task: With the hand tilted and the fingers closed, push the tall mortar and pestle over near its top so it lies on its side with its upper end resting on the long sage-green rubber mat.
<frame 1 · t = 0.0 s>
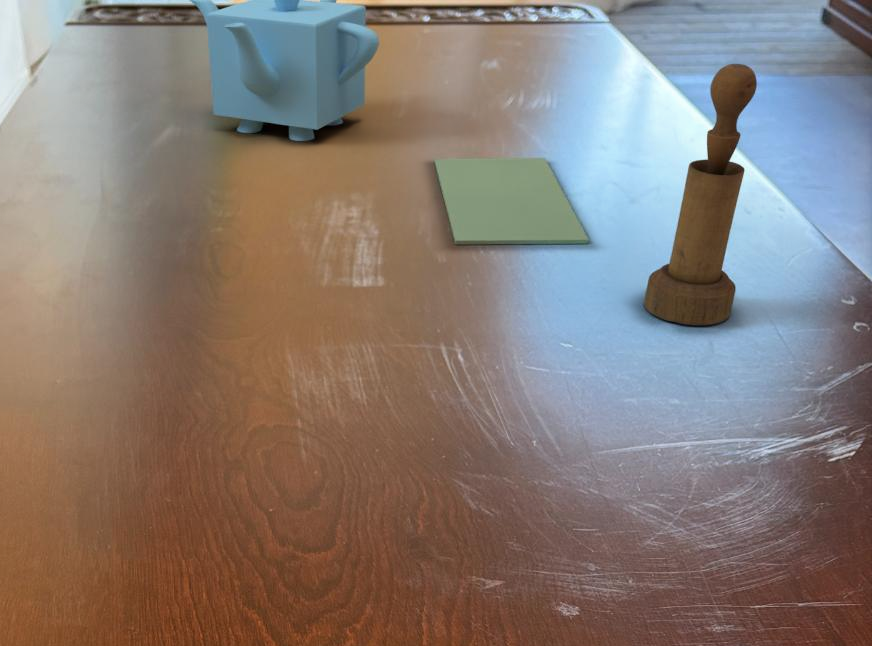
mat: (504, 199, 103), on the table
teakettle: (283, 126, 125), on the table
mortar and pestle: (685, 311, 82), on the table
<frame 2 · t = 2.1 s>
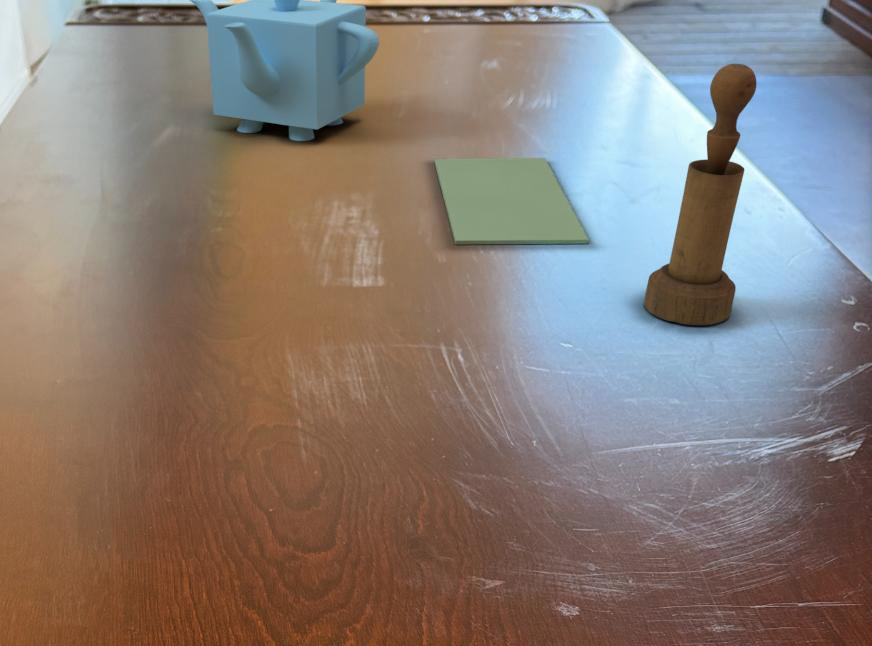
nothing on the table moved.
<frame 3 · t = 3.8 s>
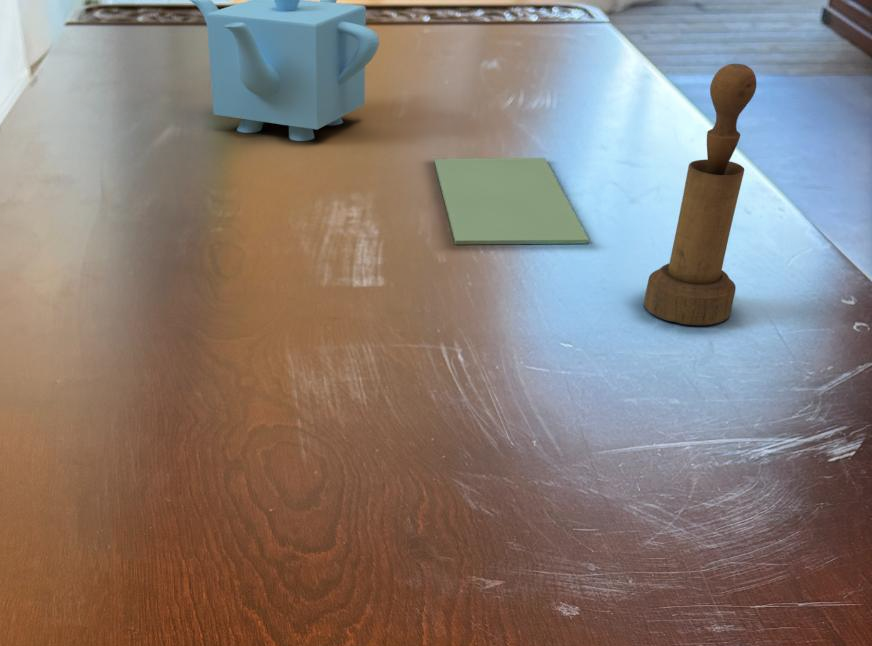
nothing on the table moved.
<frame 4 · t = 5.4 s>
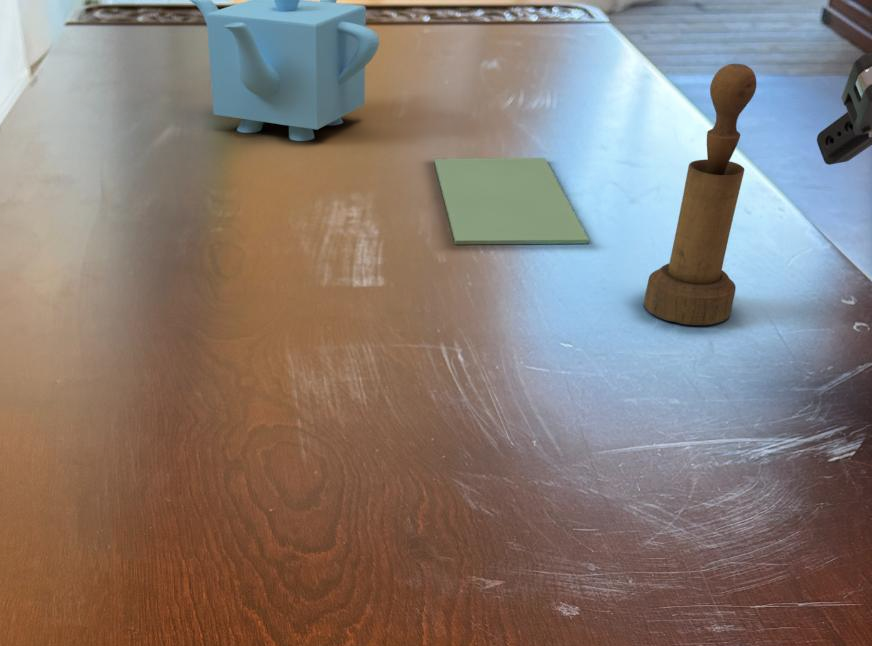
hand: (828, 150, 67), 15 cm above the table, tool tilted 45°, fingers closed
nothing on the table moved.
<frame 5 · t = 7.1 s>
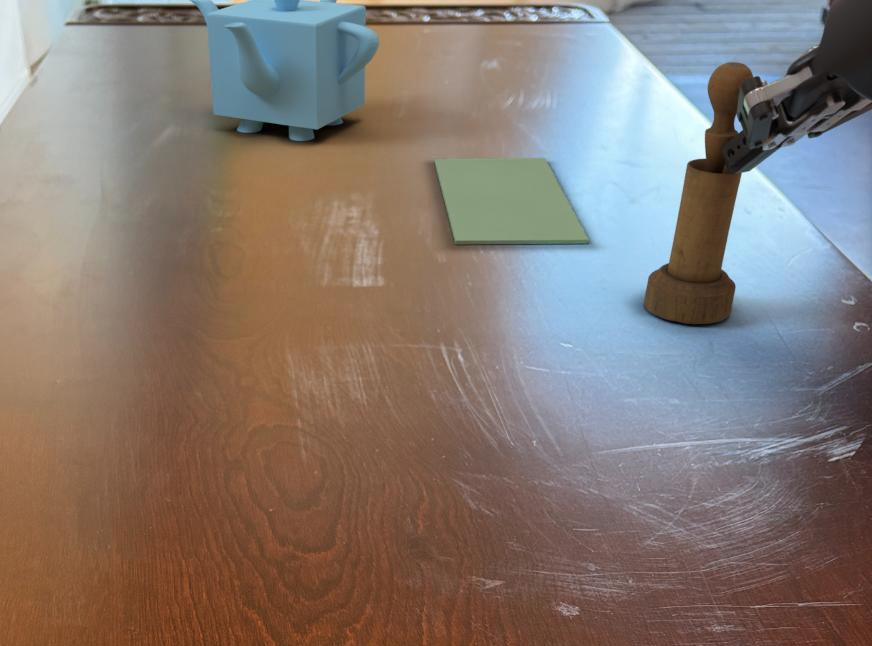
hand: (732, 161, 74), 12 cm above the table, tool tilted 45°, fingers closed
mortar and pestle: (686, 310, 82), on the table, touching gripper
everything else where it was.
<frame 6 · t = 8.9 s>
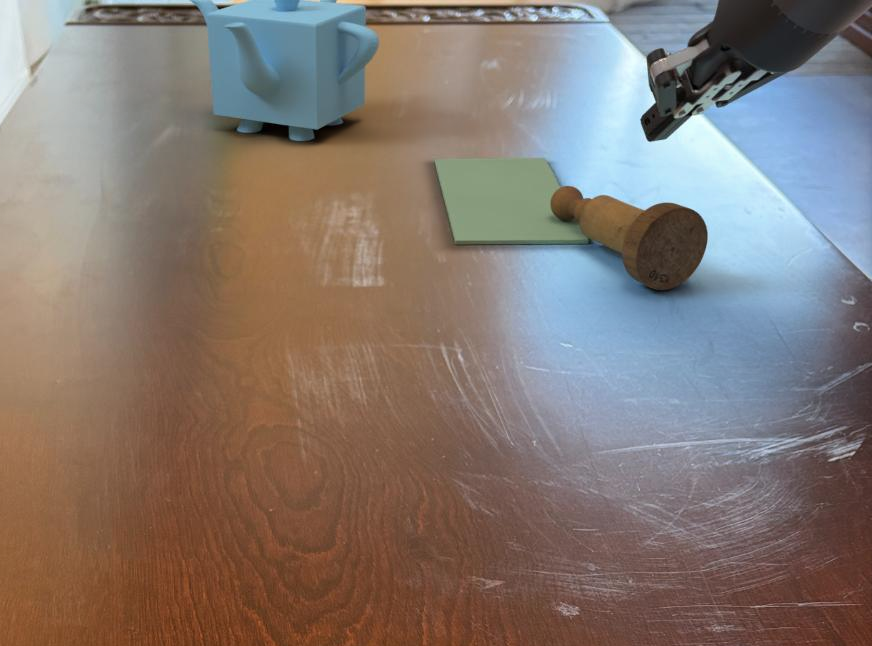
hand: (651, 130, 81), 12 cm above the table, tool tilted 45°, fingers closed
mortar and pestle: (674, 250, 83), point 3 cm above the table, touching mat
everything else where it was.
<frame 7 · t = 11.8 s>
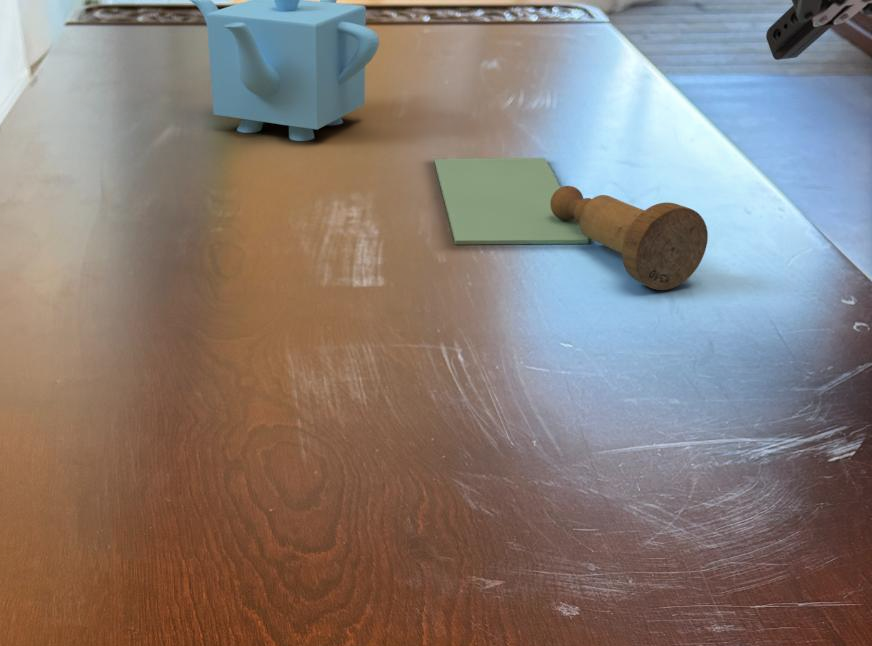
hand: (778, 46, 68), 20 cm above the table, tool tilted 45°, fingers closed
nothing on the table moved.
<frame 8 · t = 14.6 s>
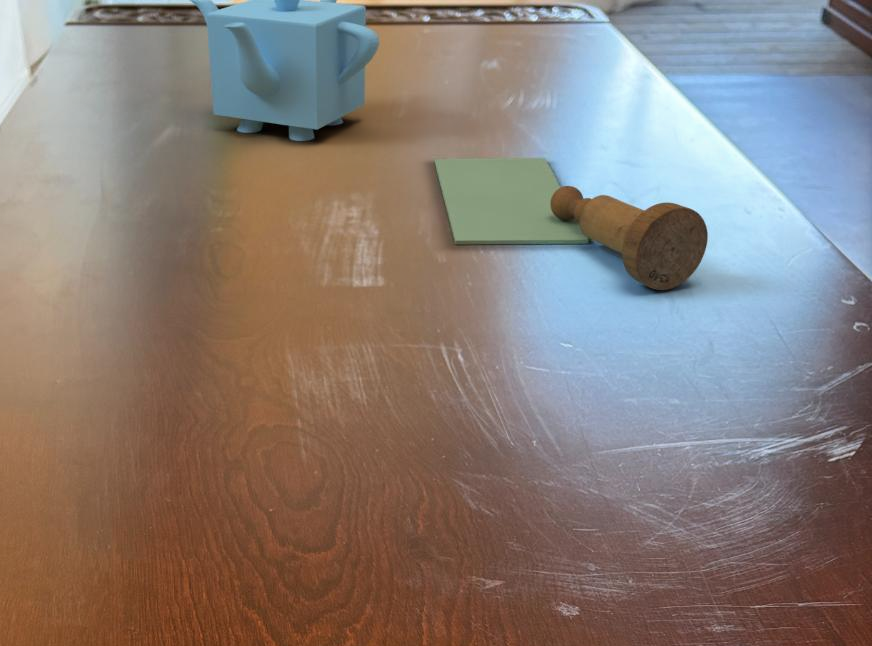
nothing on the table moved.
at the end: mortar and pestle tilted 95°; mortar and pestle touching mat, table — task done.
